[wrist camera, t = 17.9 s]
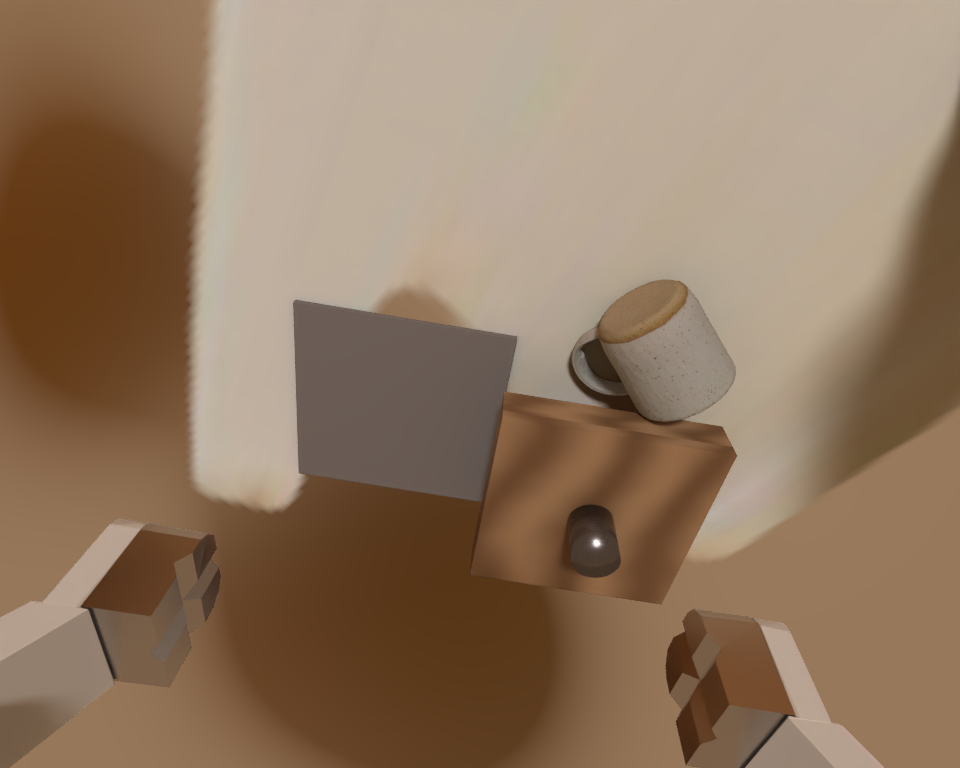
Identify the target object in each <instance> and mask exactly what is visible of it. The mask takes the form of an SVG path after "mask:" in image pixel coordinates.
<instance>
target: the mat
mask: <svg viewBox="0 0 960 768" xmlns="http://www.w3.org/2000/svg"><path fill="white" fill-rule="evenodd" d="M293 308H294V339H295V370H296V401H297V432H298V463H299V473H302V474H308V475H315V476H322V477H328V478H334V479H340V480H346V481H352V482H359V483H365V484H371V485H377V486H384V487H391V488H396V489H403V490H409V491H415V492H422V493H428V494H434V495H440V496H447V497H453V498H459V499H466V500H472V501H479V502H482V497H483V492H484V487H485V483H486V478H487V473H488V468H489V463H490V458H491V453H492V448H493V443H494V438H495V433H496V429H497V424H498V419H499V414H500V409H501V404H502V399H503V394H504V392H506V390H507V385H508V380H509V376H510V371H511V366H512V361H513V356H514V352H515V347H516V342H517V337H516V336H510V335H504V334H498V333H492V332H486V331H480V330H474V329H468V328H462V327H456V326H450V325H444V324H437V323H431V322H425V321H419V320H413V319H408V318H401V317H396V316H390V315H383V314H377V313H371V312H365V311H359V310H353V309H347V308H341V307H335V306H329V305H323V304H317V303H311V302H305V301H299V300H295V301H294V302H293Z"/></svg>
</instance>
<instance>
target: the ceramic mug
mask: <svg viewBox="0 0 960 768" xmlns="http://www.w3.org/2000/svg"><path fill="white" fill-rule="evenodd" d="M596 339H600V342H601V345H602V347H603V350H604V352H605V354H606V355H607V357H608V359H609V361H610V362H611V364H612V365H613V367H614V368H615V370H616V372H617V374H618V375H619V377H620V379H621V381H622V382H613V381H608V380H605V379H602V378H600V377H598V376H596V375H595V374H594V373H593V372H592V371H591V370H590V368H589V366H588V364H587V362H586V360H585V354H584V353H583V351H582V350H581V348H582V347H583V345H585V344H587V343H589V342H590V341H594V340H596ZM571 361H572V366H573V369H574V371H575V373H576V375H577V376H578V378H579V379H580V380H581V382H582V383H583V384H585V385H586V386H587V387H589V388H590V389H592V390H594V391H596V392H599V393H603V394H606V395H613V396H628V395H629V396H630V397H631V399H632V401H633V403H634V405H635V407H636V408H637V410H638V411H639V412H640V414H641V415H643V416H644V417H646V418H648V419H650V420H654V421H662V422H665V421H676V420H681V419H684V418H688V417H690V416H693V415H696V414H698V413H700V412H702V411H704V410H706V409H707V408H709V407H711V406H712V405H713V404H715V403H716V402H717V401H719V400H720V399H721V398H722V397H723V396H724V395H725V394H726V393H727V391H728V390H729V389H730V387H731V386H732V384H733V382H734V379H735V374H736V370H735V365H734V363H733V361H732V359H731V357H730V356H729V354H728V352H727V351H726V349H725V347H724V346H723V344H722V342H721V340H720V338H719V337H718V335H717V333H716V331H715V329H714V328H713V326H712V325H711V323H710V321H709V319H708V318H707V316H706V314H705V312H704V310H703V308H702V306H701V305H700V303H699V301H698V299H697V298H696V297H695V295H694V294H693V293H692V292H691V291H690V289H689V288H688V287H687V286H686V285H684V284H683V283H682V282H680V281H675V280H658V281H653V282H650V283H647V284H645V285H642V286H640V287H638V288H636V289H634V290H632V291H630V292H629V293H627V294H625V295H624V296H622V297H621V298H620V299H618V300H617V301H616V302H615V303H613V304H612V305H611V306H610V307H609V308H608V310H607V311H606V312H605V313H604V315H603V316H602V318H601V320H600V323H599V326H598V327H596V328H593V329H591V330H589V331H588V332H586V333H585V334H583V335H582V336H581V337H580V338H579V340H578V341H577V343H576V345H575V347H574V349H573V352H572V358H571Z"/></svg>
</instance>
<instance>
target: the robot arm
mask: <svg viewBox="0 0 960 768" xmlns="http://www.w3.org/2000/svg"><path fill="white" fill-rule="evenodd" d="M216 549H217V548H216V543H215V538H214V535H210V534H205V533H200V532H194V531H189V530H184V529H178V528H173V527H167V526H162V525H156V524H151V523H145V522H139V521H133V520H127V519H121V518H120V519H118V520H116V521H115V522H113V523H111V524H110V525H108V526H107V528H106V529H105V530H104V531H103V532H102V533H101V535H100V536H99V537H98V538H97V539H96V540H95V542H94V543H93V544H92V545H91V546H90V547H89V548H88V550H87V551H86V552H85V553H84V554H83V555H82V556H81V558H80V559H79V560H78V561H77V562H76V563H75V565H74V566H73V567H72V568H71V569H70V570H69V572H68V573H67V574H66V575H65V576H64V577H63V578H62V580H61V581H60V582H59V583H58V584H57V585H56V587H55V588H54V589H53V590H52V591H51V592H50V594H49V595H48V596H47V597H46V598H45V599H44V600H43V602H41V601H31V602H29V603H27V604H25V605H23V606H21V607H19V608H17V609H15V610H13V611H12V612H10V613H8V614H6V615H4V616H2V617H0V768H9V767H11V766H12V765H13V764H15V763H16V762H17V761H18V760H20V759H21V758H22V757H23V756H25V755H26V754H27V753H29V752H30V751H31V750H32V749H34V748H35V747H36V746H37V745H39V744H40V743H41V742H42V741H44V740H45V739H46V738H47V737H49V736H50V735H51V734H53V733H54V732H55V731H56V730H58V729H59V728H60V727H61V726H63V725H64V724H65V723H66V722H68V721H69V720H70V719H72V718H73V717H74V716H75V715H76V714H78V713H79V712H80V711H82V710H83V709H84V708H85V707H87V706H88V705H89V704H90V703H92V702H93V701H94V700H95V699H97V698H98V697H99V696H100V695H102V694H103V693H104V692H106V691H107V690H108V689H109V688H111V687H112V686H113V685H114V684H115V682H114V681H121V682H129V683H138V684H145V685H154V686H162V687H170V686H171V684H172V682H173V680H174V679H175V677H176V675H177V673H178V671H179V670H180V668H181V666H182V664H183V663H184V661H185V659H186V657H187V655H188V653H189V652H190V650H191V642H190V637H189V634H190V633H191V632H193V631H194V630H195V629H197V628H199V627H200V626H201V625H203V624H204V623H205V622H206V621H207V619H208V617H209V615H210V613H211V611H212V609H213V607H214V604H215V601H216V598H217V595H218V592H219V588H220V578H221V575H220V568H219V566H218V565H217V564H216V563H215V562H214V561H213V560H212V559H211V558H212V556H213V554H214V552H215V551H216ZM683 625H684V629H685V632H683V633H681V634H679V635H677V636H675V637H673V640H672V642H671V644H670V646H669V648H668V651H667V658H666V679H667V684H668V689H669V693H670V695H671V696H672V698H673V699H674V700H675V701H676V703H677V704H678V705H679V706H680V708H681V709H682V710H681V712H680V714H679V716H678V718H677V720H676V725H677V729H678V734H679V737H680V742H681V746H682V751H683V755H684V759H685V764H686V765H688V766H693V767H699V768H884V767H883V766H882V765H881V764H880V763H879V762H878V761H877V760H876V759H875V758H874V757H873V756H872V755H871V754H870V753H869V752H868V751H867V750H866V749H865V748H864V747H863V746H862V745H861V744H860V743H859V742H858V741H857V740H856V739H855V738H854V737H853V736H852V735H851V734H850V733H849V732H848V731H847V730H846V729H845V728H844V727H843V726H842V725H841V724H837V723H832V722H831V720H830V719H829V716H828V714H827V712H826V709H825V707H824V706H823V703H822V701H821V699H820V696H819V694H818V692H817V690H816V688H815V685H814V683H813V681H812V679H811V677H810V675H809V672H808V670H807V668H806V666H805V664H804V662H803V659H802V657H801V655H800V653H799V651H798V648H797V646H796V644H795V642H794V640H793V637H792V635H791V633H790V631H789V629H788V628H787V627H786V626H785V625H784V624H783V623H781V622H775V621H769V620H762V619H755V618H749V617H747V616H740V615H733V614H726V613H718V612H712V611H704V610H698V609H693V610H691V611H689V612H688V613H687V615H686V616H685V618H684V620H683Z"/></svg>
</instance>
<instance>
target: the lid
mask: <svg viewBox="0 0 960 768" xmlns="http://www.w3.org/2000/svg"><path fill="white" fill-rule="evenodd" d="M736 457H737V455H736V453H735V451H734V449H733V447H732V445H731V443H730V441H729V439H728V437H727V435H726V433H725V431H724V429H723V427H721V426H715V425H709V424H702V423H696V422H690V421H684V420H676V421H665V422H662V421H654V420H650V419H648V418H646V417H644V416H643V415H641V414H640V413H634V412H628V411H621V410H615V409H609V408H603V407H596V406H590V405H584V404H578V403H572V402H565V401H559V400H553V399H547V398H540V397H534V396H528V395H522V394H516V393H509V392H504V394H503V399H502V404H501V409H500V414H499V419H498V424H497V429H496V433H495V438H494V443H493V448H492V453H491V458H490V463H489V468H488V473H487V478H486V483H485V487H484V492H483V497H482V502H481V507H480V512H479V517H478V522H477V527H476V532H475V537H474V542H473V549H472V559H471V570H470V575H473V576H479V577H487V578H493V579H499V580H505V581H512V582H518V583H525V584H532V585H538V586H545V587H551V588H558V589H565V590H571V591H578V592H584V593H591V594H597V595H604V596H610V597H616V598H623V599H630V600H636V601H642V602H650V603H656V604H662V602H663V600H664V598H665V596H666V594H667V592H668V590H669V588H670V586H671V584H672V582H673V580H674V578H675V576H676V574H677V572H678V571H679V569H680V567H681V565H682V563H683V561H684V559H685V557H686V555H687V553H688V551H689V549H690V547H691V545H692V543H693V541H694V539H695V537H696V535H697V533H698V531H699V529H700V527H701V525H702V523H703V521H704V519H705V518H706V516H707V514H708V512H709V510H710V508H711V506H712V504H713V502H714V500H715V498H716V496H717V494H718V492H719V490H720V488H721V486H722V484H723V482H724V480H725V478H726V476H727V474H728V472H729V470H730V468H731V466H732V464H733V462H734V461H735V459H736Z"/></svg>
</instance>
